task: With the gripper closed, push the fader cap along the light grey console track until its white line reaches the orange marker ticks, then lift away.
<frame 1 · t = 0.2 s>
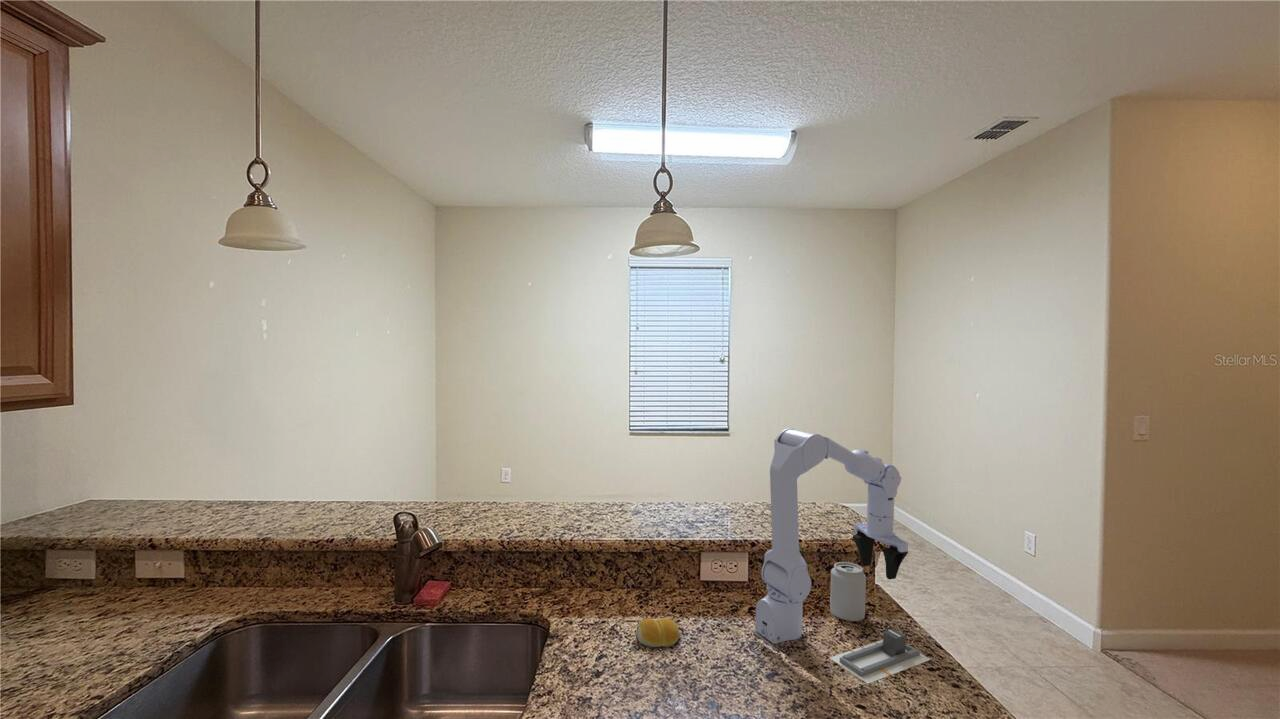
hand: (878, 571, 125), 10 cm above the worktop, tool pointing down, fingers open, 7 cm apart
fader: (894, 643, 106), point 3 cm above the worktop, slide at 4.0 cm
bread roll: (657, 639, 112), on the worktop
can: (847, 618, 123), on the worktop
console: (880, 664, 104), on the worktop
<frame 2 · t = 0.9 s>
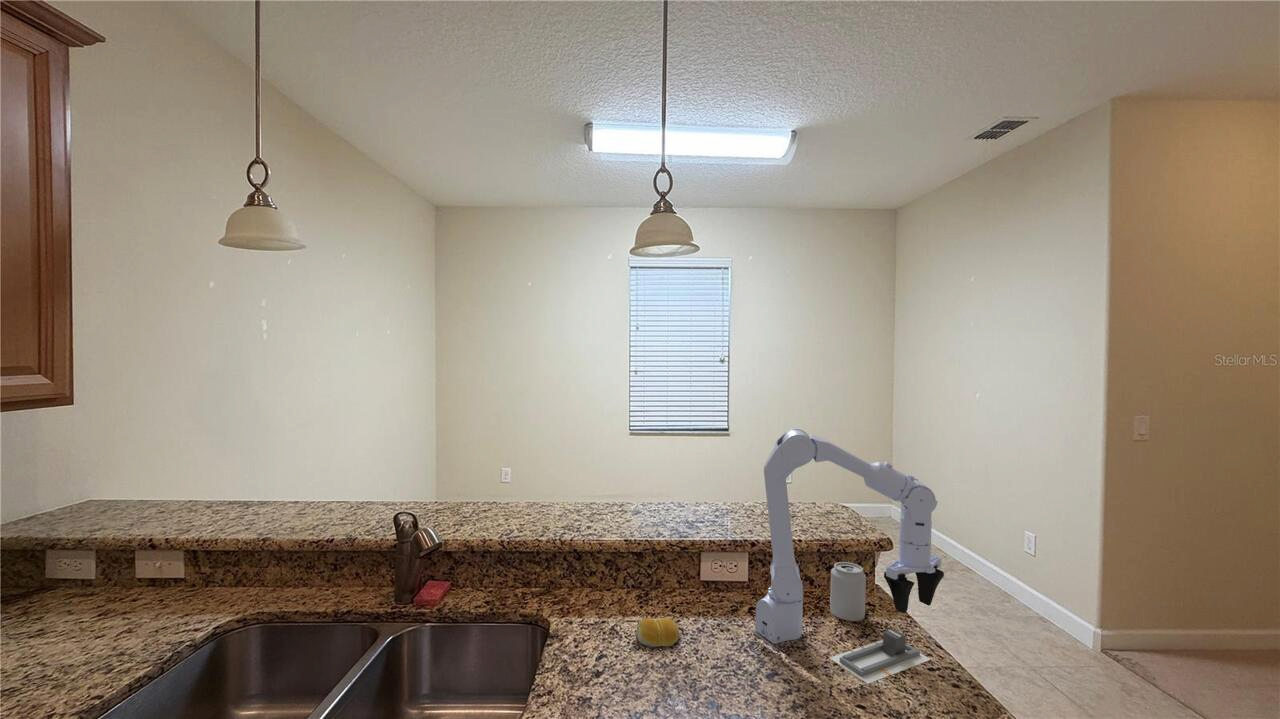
hand: (913, 607, 109), 9 cm above the worktop, tool pointing down, fingers open, 7 cm apart
nothing on the worktop moved.
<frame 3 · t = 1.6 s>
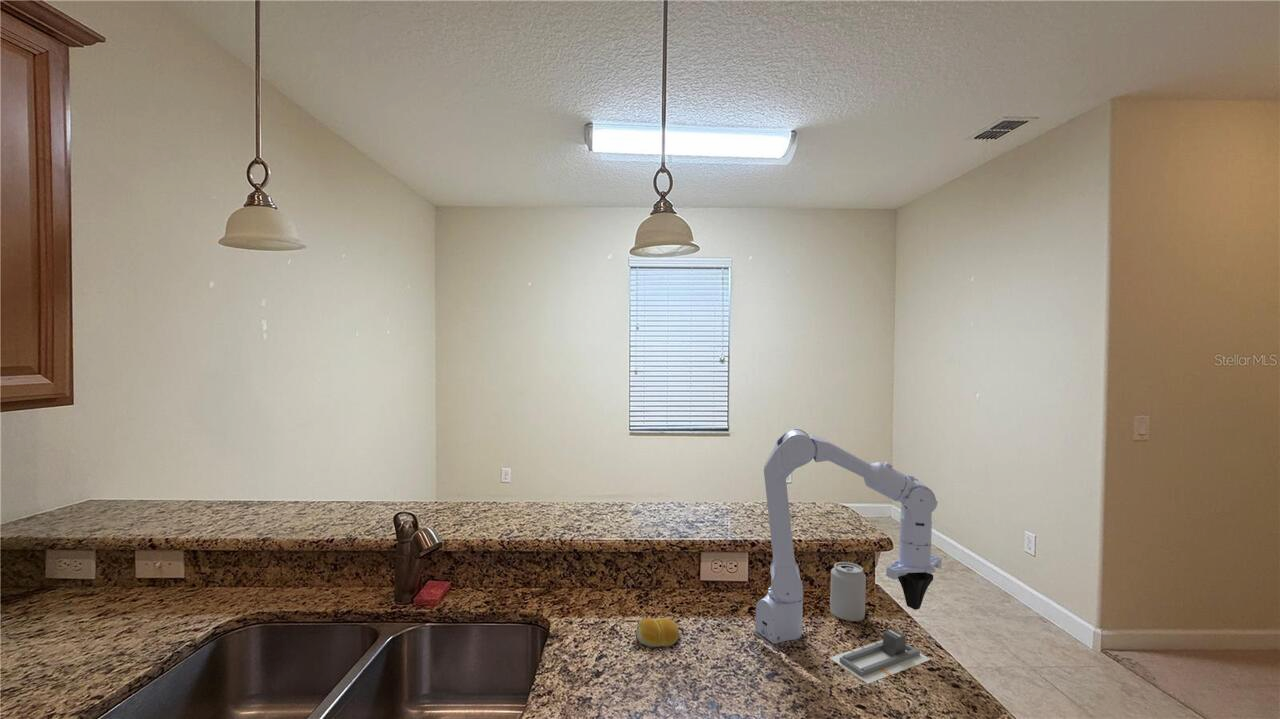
hand: (913, 607, 109), 9 cm above the worktop, tool pointing down, fingers closed
nothing on the worktop moved.
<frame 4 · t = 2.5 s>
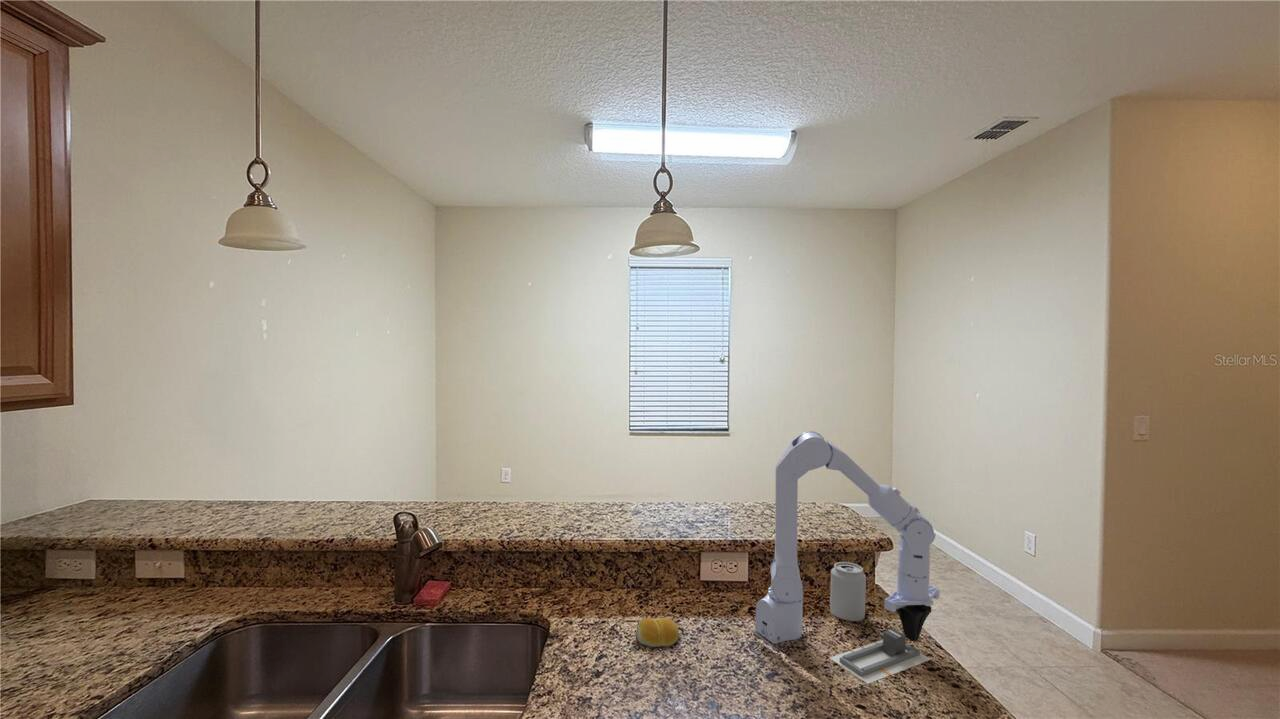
hand: (911, 638, 109), 3 cm above the worktop, tool pointing down, fingers closed
nothing on the worktop moved.
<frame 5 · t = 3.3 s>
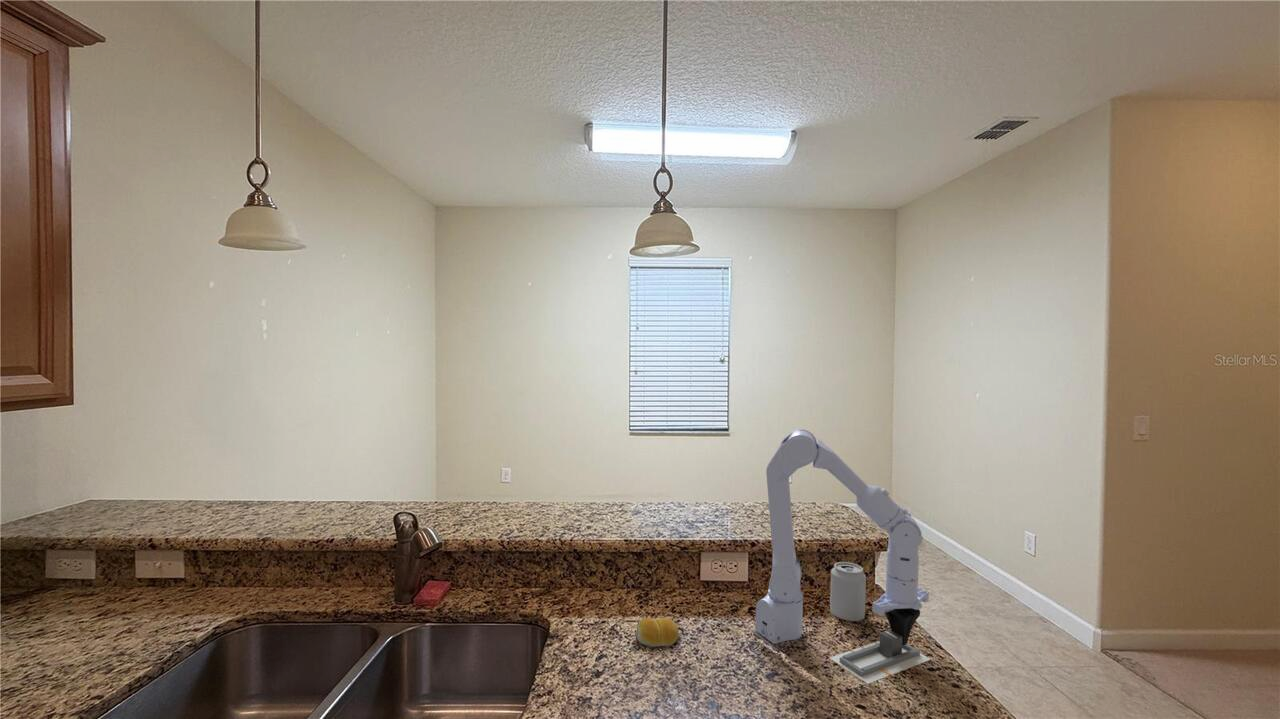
hand: (899, 642, 107), 3 cm above the worktop, tool pointing down, fingers closed
fader: (890, 644, 106), point 3 cm above the worktop, slide at 3.0 cm, touching gripper
everything else where it was.
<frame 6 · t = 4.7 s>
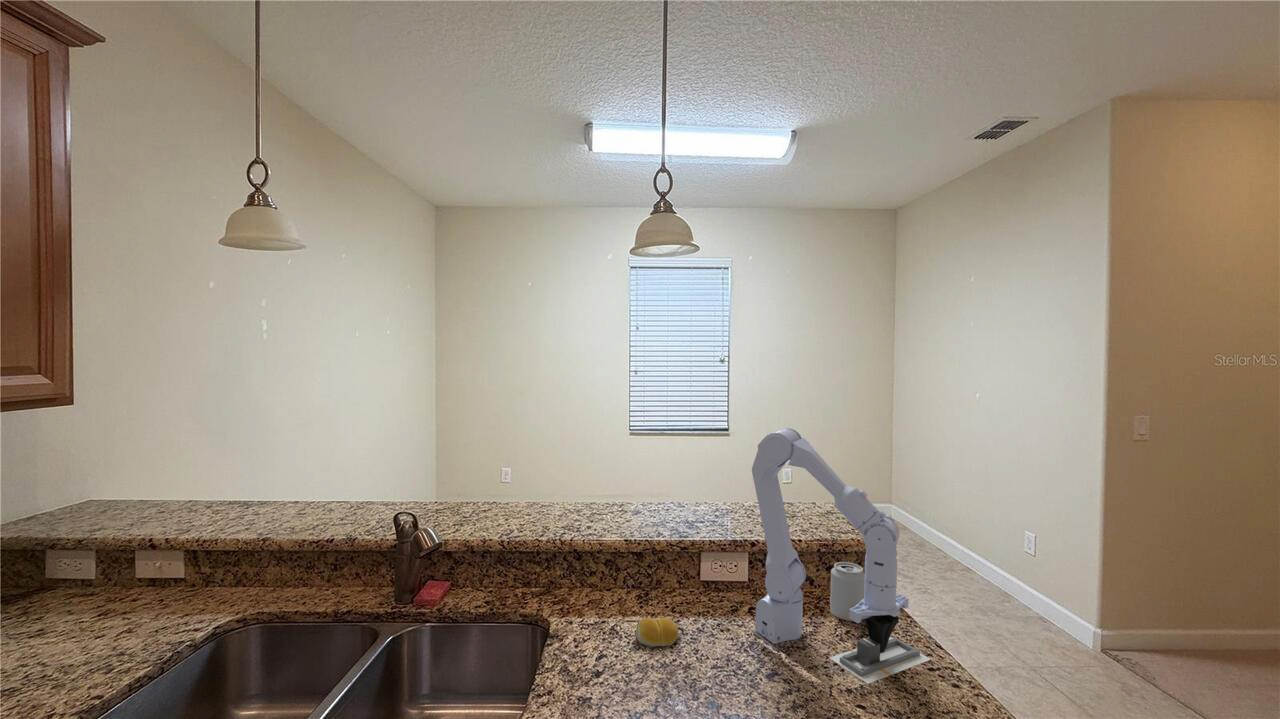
hand: (878, 650, 104), 3 cm above the worktop, tool pointing down, fingers closed
fader: (868, 652, 103), point 3 cm above the worktop, slide at -3.4 cm, touching gripper
everything else where it was.
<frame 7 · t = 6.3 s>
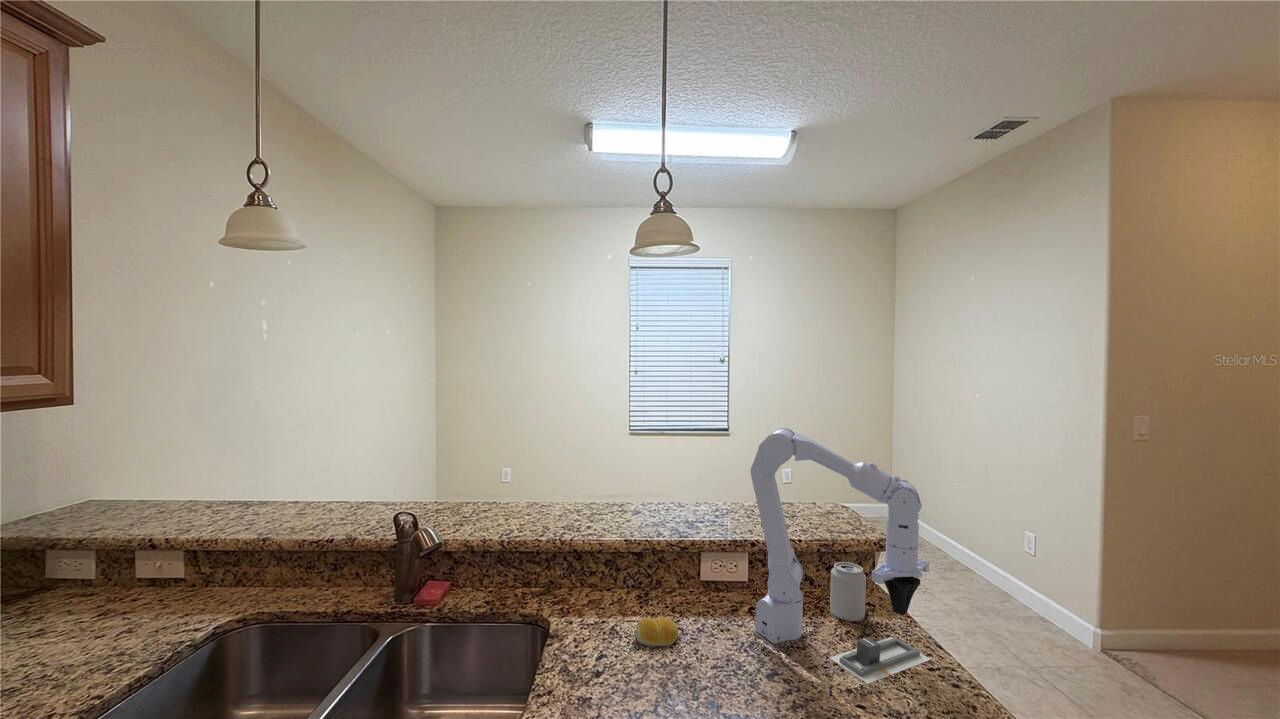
hand: (899, 612, 105), 10 cm above the worktop, tool pointing down, fingers closed
fader: (868, 652, 103), point 3 cm above the worktop, slide at -3.5 cm
everything else where it was.
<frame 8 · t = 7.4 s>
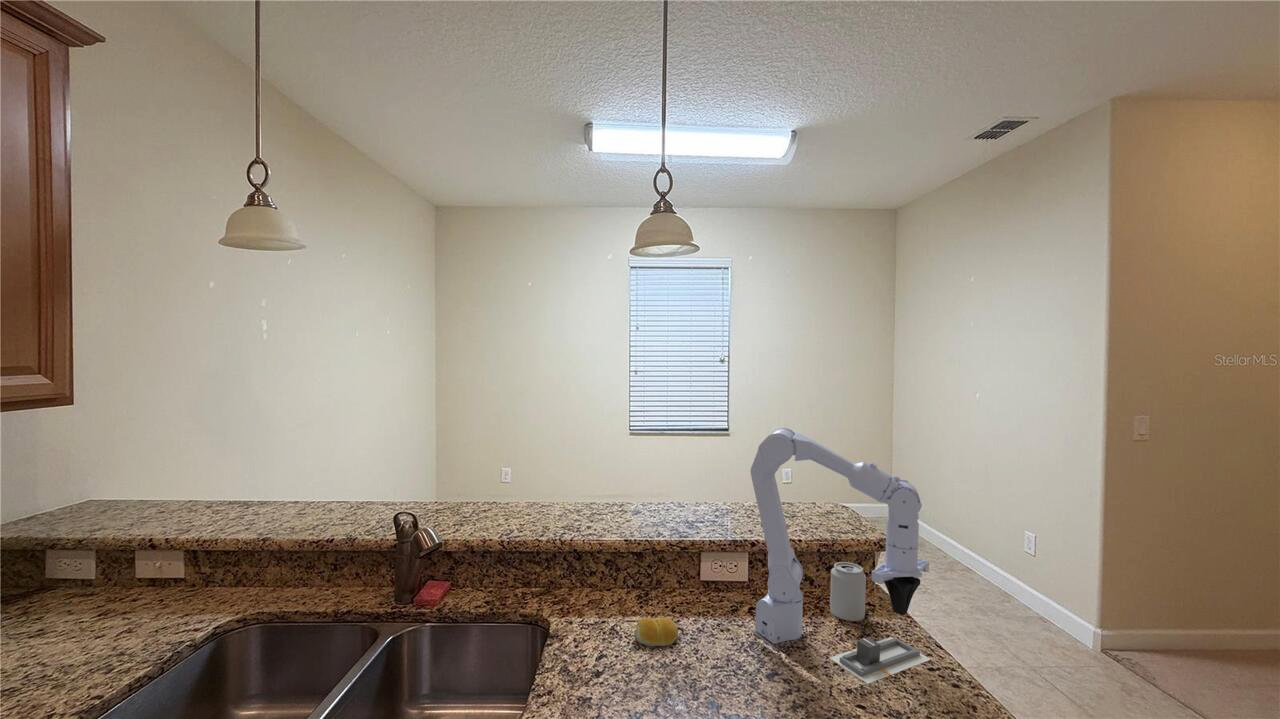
hand: (899, 612, 105), 10 cm above the worktop, tool pointing down, fingers closed
nothing on the worktop moved.
at the end: fader slide at -3.5 cm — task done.
